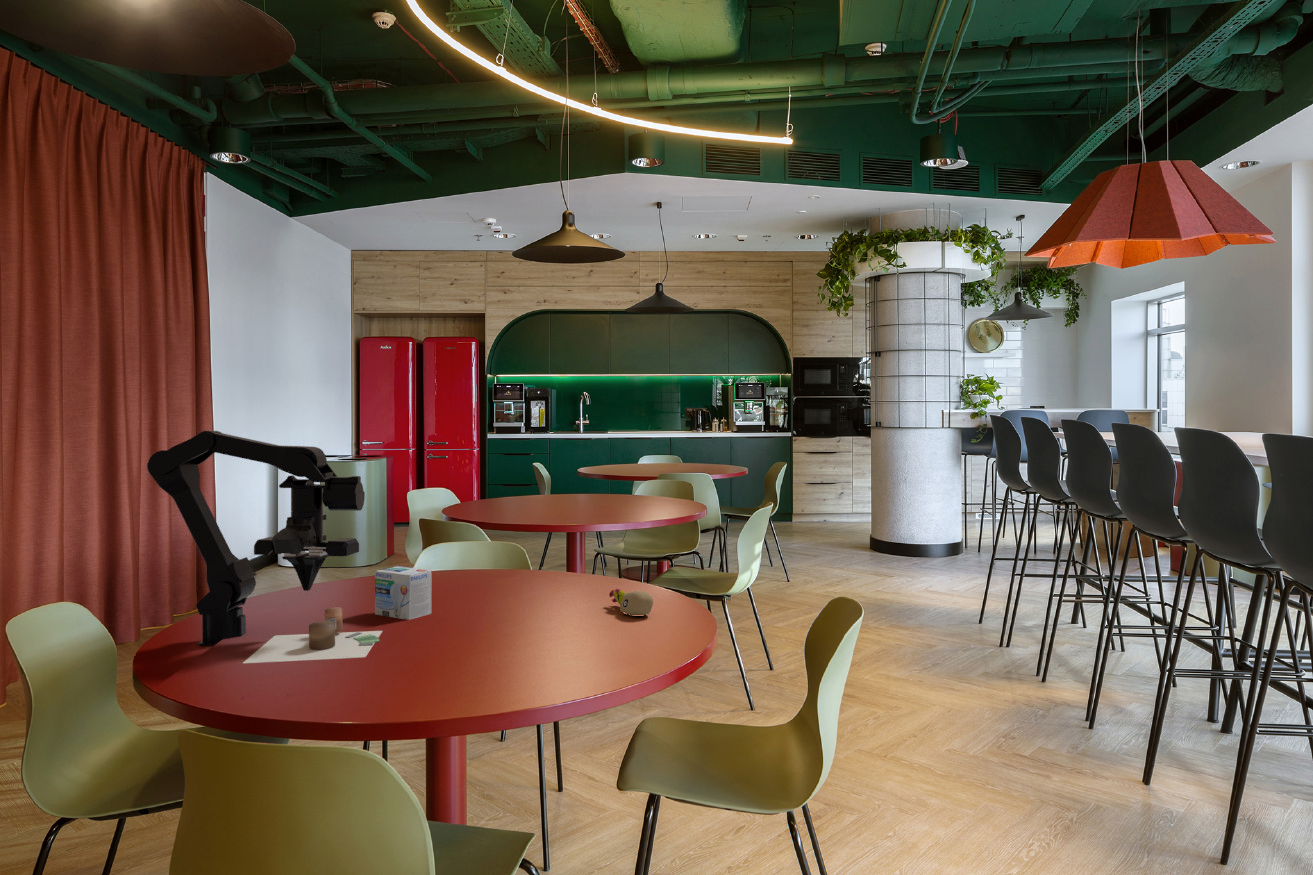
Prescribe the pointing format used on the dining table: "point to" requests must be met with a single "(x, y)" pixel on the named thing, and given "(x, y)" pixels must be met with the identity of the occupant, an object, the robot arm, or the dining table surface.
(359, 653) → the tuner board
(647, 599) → the toy
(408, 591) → the light bulb box
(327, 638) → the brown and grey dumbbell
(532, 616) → the dining table surface
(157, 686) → the dining table surface
